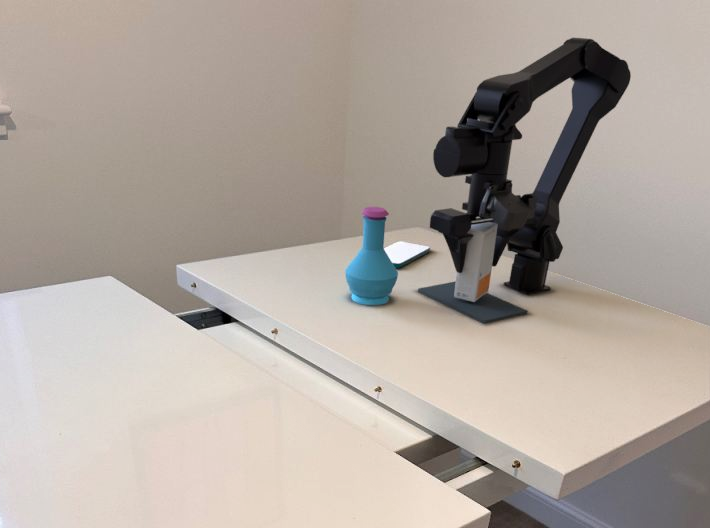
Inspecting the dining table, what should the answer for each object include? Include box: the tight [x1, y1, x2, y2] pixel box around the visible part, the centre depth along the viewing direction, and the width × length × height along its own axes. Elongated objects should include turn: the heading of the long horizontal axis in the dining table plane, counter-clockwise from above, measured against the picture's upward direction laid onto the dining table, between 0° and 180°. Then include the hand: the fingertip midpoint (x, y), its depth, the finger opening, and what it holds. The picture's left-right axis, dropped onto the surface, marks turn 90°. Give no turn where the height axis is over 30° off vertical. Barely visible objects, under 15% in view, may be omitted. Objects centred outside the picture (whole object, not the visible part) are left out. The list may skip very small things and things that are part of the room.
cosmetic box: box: [454, 222, 498, 302], centre depth 124 cm, size 6×4×12 cm
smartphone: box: [383, 240, 431, 268], centre depth 148 cm, size 8×1×16 cm
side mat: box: [417, 280, 528, 325], centre depth 128 cm, size 10×18×1 cm, turn 34°
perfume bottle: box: [344, 206, 399, 306], centre depth 123 cm, size 9×9×15 cm
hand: (476, 269), depth 124 cm, fingers closed on cosmetic box, 7 cm apart
